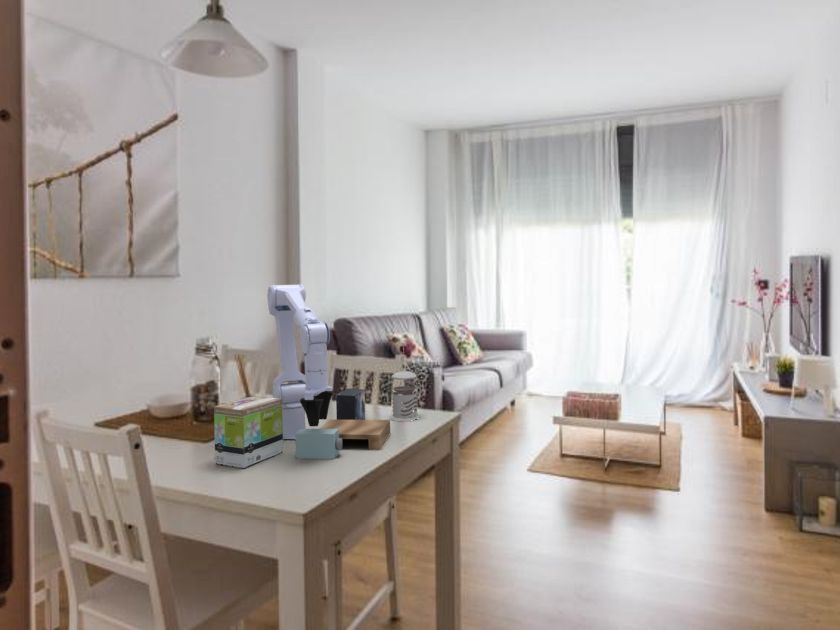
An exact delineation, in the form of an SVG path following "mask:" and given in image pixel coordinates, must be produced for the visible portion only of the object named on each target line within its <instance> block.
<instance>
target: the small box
mask: <svg viewBox="0 0 840 630" xmlns="http://www.w3.org/2000/svg"><path fill="white" fill-rule="evenodd" d="M365 390H366V389H363V388H348V387H347V388H346V389H344V390H342V391H340V392H339V393H336V394H335V400H336V401H335V402H336V407H335V409H336V412H335V413H336V420H366V399H365V398H366V397H365V396H366V392H365Z"/></svg>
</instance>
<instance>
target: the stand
mask: <svg viewBox="0 0 840 630" xmlns="http://www.w3.org/2000/svg"><path fill="white" fill-rule="evenodd" d="M319 429H339V438H342V440H368V450H369V449H380V448H382V447H383V446H384V444H385V443H386V441H387V440H388V439H389V437H390V435H391V419H365V420H337V419H329V420H328V421H326V422H325V423H324V424H323V425H322V426H321V427H320V428H319ZM389 434H390V435H389ZM386 439H387V440H386ZM384 442H385V443H384ZM382 445H383V446H382ZM380 450H381V449H380Z"/></svg>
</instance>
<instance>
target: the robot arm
mask: <svg viewBox="0 0 840 630" xmlns="http://www.w3.org/2000/svg"><path fill="white" fill-rule="evenodd" d="M306 293H307V292H306V288H305V286H304V285H303V284H302V283H299V284H270V285H269V286H268V289H267V294H266V295H267V305H268V306H267V307H268V311H269V315H270V316H273V317H274V318H275V322H276V330H277V332H276V333H277V341H278V349H279V350H278V351H279V359H280V370H281V373H279V375H277V376H276V377H275V378H274V379H273V381H272V398H279V399H282V416H283V440H296V439H295V434H296V433H297V432H298V431H299V430H300V429H306V419H307V422H308V425H309V427H319V423H320V420H327V418H328V413H329V408H330V407H329V406H330V402H331V399H332V397H333V395H334V390H333V389H334V388H333V386H329V377H328V376H329V373H328V371H329V369H328V349H327V348H328V347H327V346H328V345H329V343H330V340H331V333H330V332H331V331H330V327H329V325H328V323H327V322H325V321H324V322H323V321H320V319H319V318H318V316H317V314H316V313H315V311H314V310H313V309H312V308H310V307H308V306H307V304H306V298H307V294H306ZM294 323H295V325H296V327H297V328H298V330H299V334H300V335H299V337H300V343H301V348H302V353H303V355H304V373H302V372H300V370H299V365H298V357H297V355H298V354H297V348H296V346H297V345H296V337H295V329H294V327H295V326H294Z"/></svg>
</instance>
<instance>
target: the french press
mask: <svg viewBox="0 0 840 630" xmlns="http://www.w3.org/2000/svg"><path fill="white" fill-rule="evenodd" d="M406 345H407V342H406V341H405V340H402V341H401V342H400V346H403V347H402V349H403V350H402V351H403V352H402V353H403V355H402V356H403V361H405V346H406ZM391 377H392V379H393V380H394V379H395V380H403V385H402V386H395V387H394V388H393V392H392V393H391V394H392V415H391V416H390V418H391V419H390V421H393V420H394V421H393V422H399V421H407V422H412V421H411V420H415V419H418V418H419V417H420V416H419V415H418V408H417V407H418V403H417V401H418V400H419V398H420V396H421V393H422V386H421V382H420V380H419V379H418V378H417V377H418V375H417V374H416V373H414V372H412V371H409V370H405V369H403V370H402V371H397V372H395V373H394V374H393V375H391ZM406 380H410V383H411V384H416V387H415V386H407V385H406V386H405V384H406V382H405V381H406ZM412 380H413V381H412ZM417 382H418V383H417ZM418 384H419V386H420V388H419V387H418ZM418 388H419V389H420V391H419V395H418V390H419V389H418ZM415 390H416V391H415ZM417 396H418V397H417ZM403 403H404V404H403ZM418 420H419V419H418ZM415 421H416V420H415Z"/></svg>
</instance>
